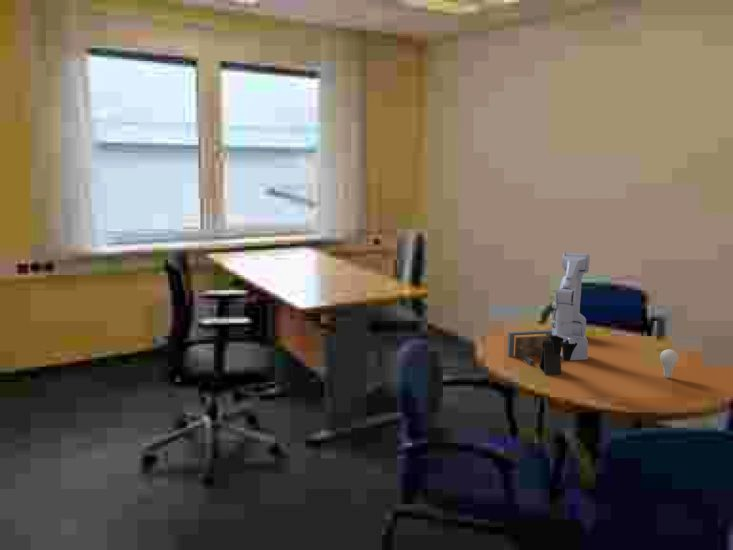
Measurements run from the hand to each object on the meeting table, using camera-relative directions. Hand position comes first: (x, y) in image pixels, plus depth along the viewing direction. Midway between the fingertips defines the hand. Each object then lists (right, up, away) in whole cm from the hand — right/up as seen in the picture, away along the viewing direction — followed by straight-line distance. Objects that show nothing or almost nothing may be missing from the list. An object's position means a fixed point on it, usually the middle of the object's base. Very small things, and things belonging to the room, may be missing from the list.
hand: (561, 357), depth 229 cm
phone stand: (-1, -7, +11) cm, 13 cm away
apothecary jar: (+18, +2, +56) cm, 59 cm away
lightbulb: (+40, -8, +3) cm, 41 cm away
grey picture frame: (-4, -3, +30) cm, 30 cm away
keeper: (-3, -4, +22) cm, 23 cm away
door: (-4, -3, +27) cm, 27 cm away
